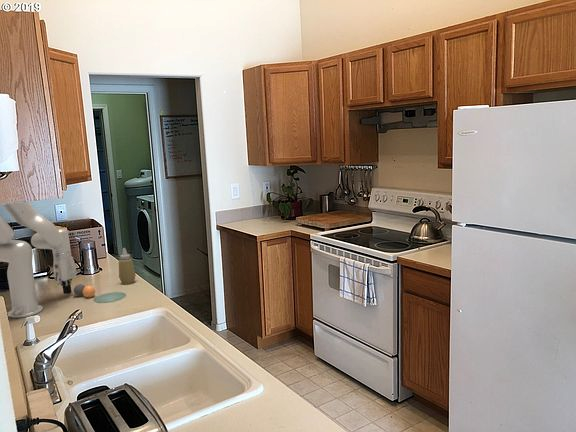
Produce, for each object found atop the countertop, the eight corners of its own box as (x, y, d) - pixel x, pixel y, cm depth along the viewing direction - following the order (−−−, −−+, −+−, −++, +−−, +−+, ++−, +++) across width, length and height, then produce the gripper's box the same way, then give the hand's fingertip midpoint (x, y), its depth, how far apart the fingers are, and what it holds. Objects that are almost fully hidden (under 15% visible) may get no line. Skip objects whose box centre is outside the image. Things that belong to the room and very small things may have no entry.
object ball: (92, 299, 216) (92, 288, 215) (80, 298, 216) (80, 287, 215) (97, 295, 221) (97, 284, 220) (85, 294, 221) (85, 283, 220)
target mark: (118, 302, 209) (118, 301, 209) (88, 303, 210) (87, 303, 210) (130, 292, 223) (130, 291, 223) (101, 293, 223) (101, 292, 223)
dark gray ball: (69, 288, 218) (74, 299, 219) (79, 284, 217) (84, 295, 218) (76, 285, 224) (81, 295, 224) (85, 281, 223) (90, 291, 223)
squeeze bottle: (122, 286, 233) (117, 250, 230) (117, 282, 239) (113, 248, 236) (138, 282, 237) (134, 248, 234) (133, 279, 244) (130, 245, 241)
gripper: (58, 259, 210) (64, 299, 213) (79, 251, 224) (84, 288, 227) (43, 259, 212) (49, 298, 215) (65, 251, 226) (71, 288, 229)
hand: (67, 293), depth 221 cm, fingers closed
